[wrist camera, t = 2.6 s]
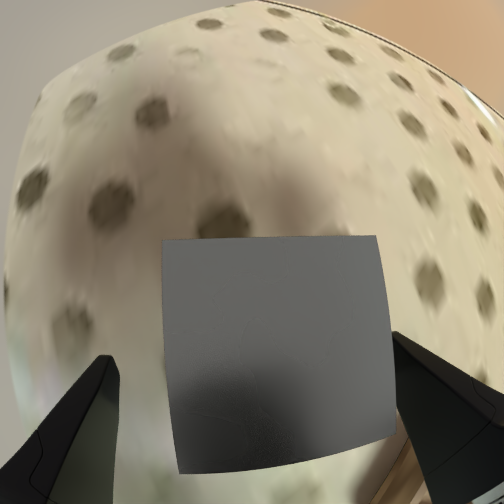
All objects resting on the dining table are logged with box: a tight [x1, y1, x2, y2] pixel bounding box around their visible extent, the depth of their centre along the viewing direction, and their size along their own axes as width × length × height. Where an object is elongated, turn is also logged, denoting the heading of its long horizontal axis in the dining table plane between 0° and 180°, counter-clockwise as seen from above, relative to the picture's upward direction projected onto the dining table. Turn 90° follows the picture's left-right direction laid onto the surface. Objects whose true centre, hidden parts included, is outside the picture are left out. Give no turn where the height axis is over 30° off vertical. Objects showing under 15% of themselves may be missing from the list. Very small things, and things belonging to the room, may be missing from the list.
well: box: [370, 438, 472, 504], centre depth 13 cm, size 11×11×4 cm
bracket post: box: [162, 235, 396, 474], centre depth 11 cm, size 7×7×12 cm
